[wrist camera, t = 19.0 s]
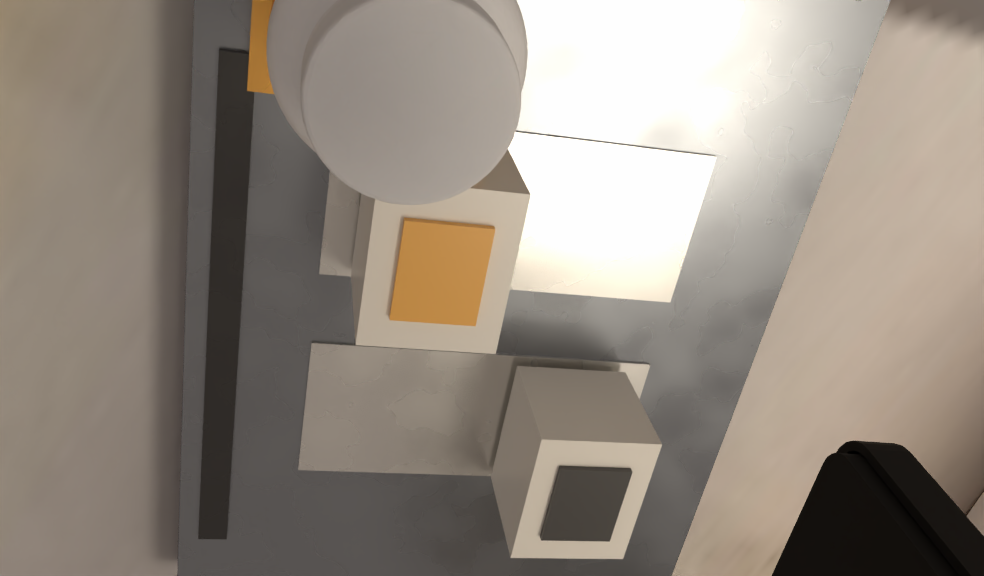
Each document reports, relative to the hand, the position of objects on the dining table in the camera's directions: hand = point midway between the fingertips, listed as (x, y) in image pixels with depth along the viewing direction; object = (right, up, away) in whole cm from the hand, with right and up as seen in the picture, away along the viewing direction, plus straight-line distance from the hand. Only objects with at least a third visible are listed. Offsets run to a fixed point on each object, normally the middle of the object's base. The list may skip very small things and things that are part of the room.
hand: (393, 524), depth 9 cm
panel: (+1, +2, +24) cm, 24 cm away
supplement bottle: (-2, +11, +15) cm, 19 cm away
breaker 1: (-1, +5, +19) cm, 20 cm away
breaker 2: (+3, -2, +24) cm, 24 cm away
